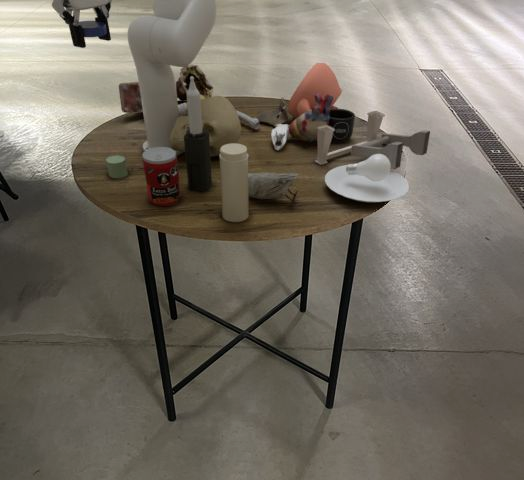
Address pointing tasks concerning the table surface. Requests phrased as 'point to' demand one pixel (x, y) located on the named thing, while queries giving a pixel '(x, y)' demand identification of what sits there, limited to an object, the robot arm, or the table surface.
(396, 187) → the plate
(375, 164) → the lightbulb
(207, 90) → the bear figurine
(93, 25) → the lid
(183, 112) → the light bulb
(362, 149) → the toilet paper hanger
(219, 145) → the skull
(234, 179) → the jar
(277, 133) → the bird figurine
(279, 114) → the pottery fragment
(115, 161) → the stand
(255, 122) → the bone
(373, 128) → the toilet paper hanger
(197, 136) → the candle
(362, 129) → the table surface
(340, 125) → the mug
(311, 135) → the anatomical model
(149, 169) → the canned food
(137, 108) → the decorative box
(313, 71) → the pink curved piece
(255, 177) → the decorative bird
